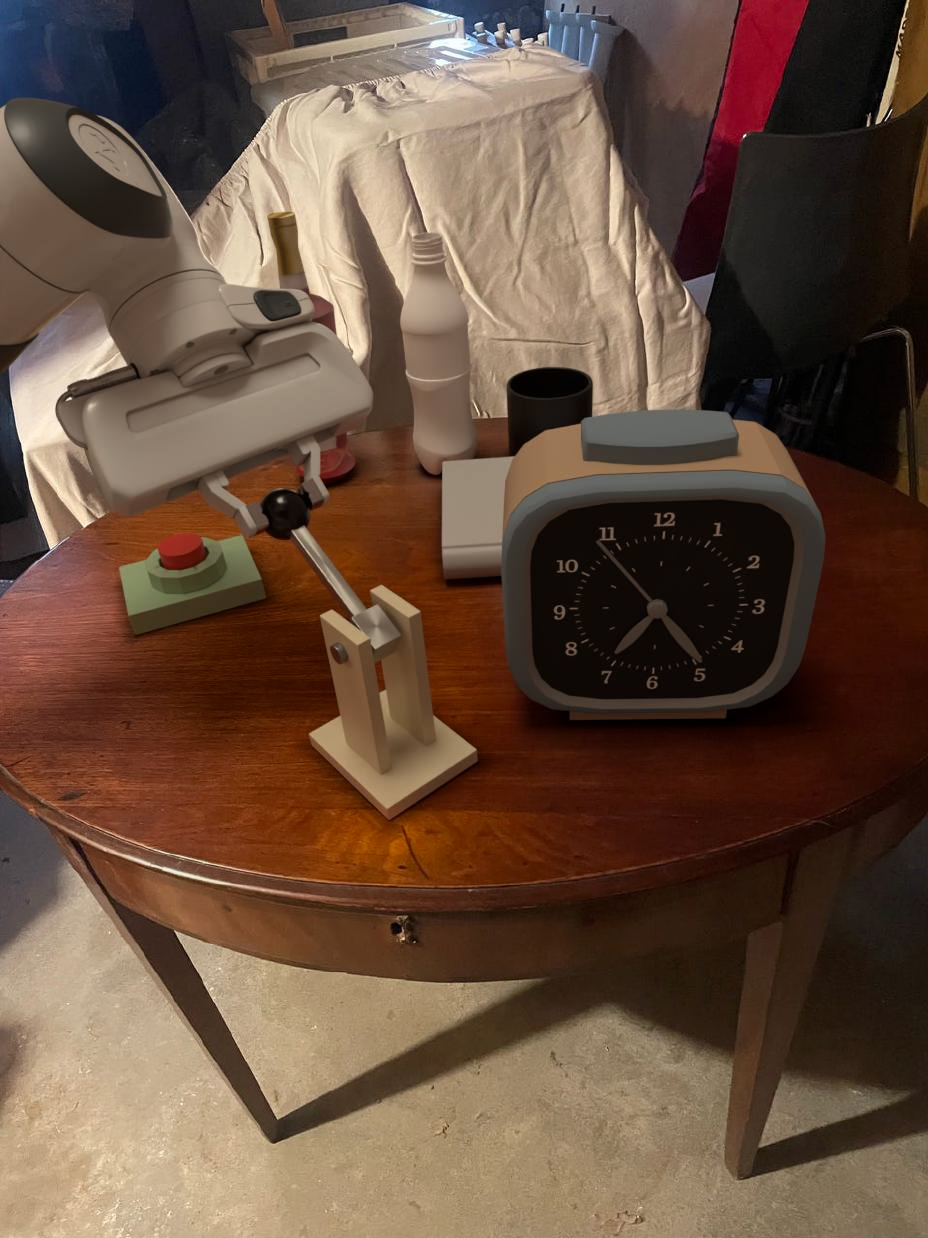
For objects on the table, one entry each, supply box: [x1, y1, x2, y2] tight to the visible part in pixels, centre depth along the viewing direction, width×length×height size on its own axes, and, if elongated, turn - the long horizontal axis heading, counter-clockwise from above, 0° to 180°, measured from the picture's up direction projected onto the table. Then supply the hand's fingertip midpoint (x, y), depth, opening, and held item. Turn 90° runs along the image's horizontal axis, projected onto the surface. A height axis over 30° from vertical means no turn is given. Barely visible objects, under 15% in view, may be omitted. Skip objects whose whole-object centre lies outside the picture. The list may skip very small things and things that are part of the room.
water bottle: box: [399, 232, 478, 476], centre depth 94 cm, size 7×7×25 cm
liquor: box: [266, 211, 356, 485], centre depth 93 cm, size 7×7×28 cm
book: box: [441, 456, 514, 580], centre depth 87 cm, size 18×4×24 cm
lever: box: [259, 487, 402, 664], centre depth 59 cm, size 14×4×4 cm, turn 40°
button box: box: [118, 534, 267, 636], centre depth 82 cm, size 12×9×4 cm
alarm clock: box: [501, 409, 826, 721], centre depth 62 cm, size 21×10×22 cm, turn 87°
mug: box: [505, 366, 594, 457], centre depth 99 cm, size 9×12×9 cm
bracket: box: [308, 584, 479, 821], centre depth 61 cm, size 10×8×13 cm
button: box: [157, 532, 206, 570], centre depth 81 cm, size 4×4×2 cm
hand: (290, 518), depth 61 cm, fingers closed on lever, 3 cm apart
